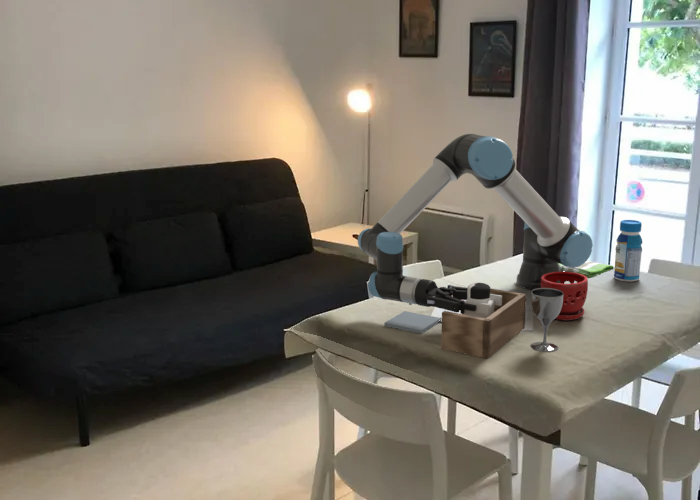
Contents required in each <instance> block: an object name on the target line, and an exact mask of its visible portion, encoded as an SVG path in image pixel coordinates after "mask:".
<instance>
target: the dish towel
mask: <svg viewBox="0 0 700 500" xmlns="http://www.w3.org/2000/svg"><path fill="white" fill-rule="evenodd" d="M559 266H560V270H561V271H565V272H574V273H579V274H582V275H584V276H586V277H587V278H591V277H594V276H597V275H600V274H602V273H606V272H608V271H612V270H614V269H615V266H613V265H611V264H605V263H600V262H596V261H595V262H594V261H589V260H587V261H586V262H585V263H584V264H583V265H581V266H579V267H575V268H571V267H566V266H564V265H562V264H560V263H559Z"/></svg>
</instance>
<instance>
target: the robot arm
mask: <svg viewBox="0 0 700 500" xmlns="http://www.w3.org/2000/svg"><path fill="white" fill-rule="evenodd" d="M513 156H514V154H513V152H512V149H511V147H510V146H509V145H508V144H507V143H506V142H505V141H503V140H502V139H500V138H497V137H494V136H489V135H488V136H486V135H479V134H475V133H465V134H462V135H459V136H458V137H456V138H455V139H453V140H452V141H451V142H450V143H448V144H447V145H446V146H445V147H444V148H443V149H442V150H441V151H439V152H438V154H437V155H436V156H435V157H434V158H433V159H432V165H431V166H430V167H429V168H428V169H427V170H426V171H425V172H424V173H423V174H422V175H421V176H420V177H419V179H418V180H416V182H414V184H413V185H412V186H411V187H410V188H409V189H408V190H407V191H406V192H405V193H404V194H403V195H402V196H400V198H399V199H398V200H397V201H396V203H394V204H393V205H392V206H391V207H390V209H389V210H388V211H386V212H385V214H384V215H383V216H382V217H381V218H380V219H379V220H378V221H377V222H376V223H375V224H374V225H373V226H372V227H370V228H365V229H363V230H362V231H360V232H359V234H358V236H357V246H358V248H359V249H360V250H361V251H362V252H363V253H364V254H366V255H368V256H370V257H371V258H372V259H374V260H375V261H376V271H374V272H372V273H371V274H370V275H369V278H368V280H369V281H368V283H367V289H368V293H369V294H370V295H371V296H373V297H375V298H379V299H382V300H387V301H388V300H389V301H394V302H401V303H406V304H408V305H409V306H412V305H418V306H421V307H426V308H430V307H433V308H437V309H442V310H444V311H448V312H453V313H459V314H464V310H465V311H470V312H476V313H481V314H487V315H489V310H490V304H486V303H480V302H474V301H469V300H467V289H468V287H462V286H456V285H451V284H448V285H447V287H446V286H439V287H438V285H437V283H436V282H435V281H434V280H431V279H425V278H420V277H412V276H407V275H406V276H405V275H403V274H404V273H403V272H404V271H403V270H404V267H403V266H404V241H403V239H404V238H403V235H402V232H404V231H405V230H406V228H407V227H408V226H409V225H410V224H411V223H412V222H413V221H414V220H415V219H416V218H417V217H418V216H419V215H420V214H421V213H422V212H423V211H424V210H425V209H426V208H427V207H428V206H429V205H430V204H431V203H432V202H433V200H435V198H437V197H438V195H440V193H441V192H443V190H444V189H445V188H446V187H447V186H448V185H449V184H450V183H452V182H457V181H458V180H459V178H460V177H462V176H463V175H465V174H469V175H472V176H473V177H475V179H476V180H477V181H478V182H479V183H480V184H481V185H482V186H483V187H484V189H488V190H494V191H495V192H496V193H497V194H498V195H499V197H501V199H503V200H504V202H505V203H506V204H507V205H508V206H509V207H510V208H511V209H512V210H513V211H514V212H515V213H516V214H517V215H518V217H520V218H521V220H523V223H524V225H523V226H524V227H523V248H522V262H521V266H520V268H519V271H518V274H517V275H516V281H515V282H516V285H517V286H518V287H520V288H522V289H525V290H531V291H532V290H534V289H537V288H541V277H542V276H543V275H544V274H547V273H551V272H561V270H560V266H559V263H560V264H562V265H564V266H566V267H571V268H575V267H579V266H581V265H583V264H584V263H585V262H586V261H589V258H590V257H591V255H592V252H593V246H594V245H593V240H592V237H591V235H589V233H587V232H585V231H584V230H580V229H578V228H577V227H576V226H575V224H573V223H572V222H571V221H570V219H569V218H567V217H565V216H559V215H558V213H557V212H556V211H555V210H554V209H553V208H552V207H551V206H550V205H549V204H548V203H547V202H546V200H545V199H544V198H543V197H542V196H541V195H540V194H539V193H538V192H537V191H536V190H535V189H534V187H533V186H532V185H531V184H530V183H529V182H528V181H527V180H526V179H525V178H524V177H523V176H522V174H521V173H520V172H519V171H518V170H517V169H516V167H517V162H516V160H515V159H514V158H513ZM556 283H560V281H557V282H556ZM490 299H491V300H494V305H499V306H501V305H502V296H501V295H495V294H490ZM465 301H466V303H465Z"/></svg>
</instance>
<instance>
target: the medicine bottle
mask: <svg viewBox="0 0 700 500" xmlns="http://www.w3.org/2000/svg"><path fill="white" fill-rule="evenodd" d="M467 288H468V289H467V300H469V301H474V302H480V303H486V304H490V310H489V315H487V314H481V313H476V312H470V311H465V310H464V315H469V316H475V317H480V318H487V317H489V316H490V315H491V314H493V313H494V300H491V299H490V288H491V286H490V285H489V284H488V283H485V282H472V283H469V284H468V285H467ZM464 301H465V303H466V300H464Z"/></svg>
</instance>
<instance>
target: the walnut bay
mask: <svg viewBox="0 0 700 500" xmlns="http://www.w3.org/2000/svg"><path fill="white" fill-rule="evenodd" d="M490 294H495V295H501V296H502V305H501V306H499V305H494V313H493V314H491V315H490V316H489V317H487V318H480V317H475V316H469V315H464V314H461V313H460V312H453V311H449V310H443V311H442V312H441V339H440V340H441V342H440V343H441V345H440V346H441V347H440V348H442V349H441V350H445V349H447V350H446V351H450V350H452V351H451V352H454V351H457V352H456V353H459V352H461V353H460V354H463V353H466V354H465V355H468V354H469V356H473V357H479V358H483V359H489V358H490V357H492V356H493V355H494V354H495V353H497V352H498V351H499V350H501V348H502V347H503V346H505V345H506V344H507V343H509V342H510V341H511V340H512V339H513V338H514V337H516V336H517V335H518V334H520V331H521V330H522V329H523V330H524V329H526V327H525V325H526V303H527V293H522V292H515V291H509V290H503V289H496V288H491V287H490ZM523 330H522V331H523ZM522 331H521V332H522Z"/></svg>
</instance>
